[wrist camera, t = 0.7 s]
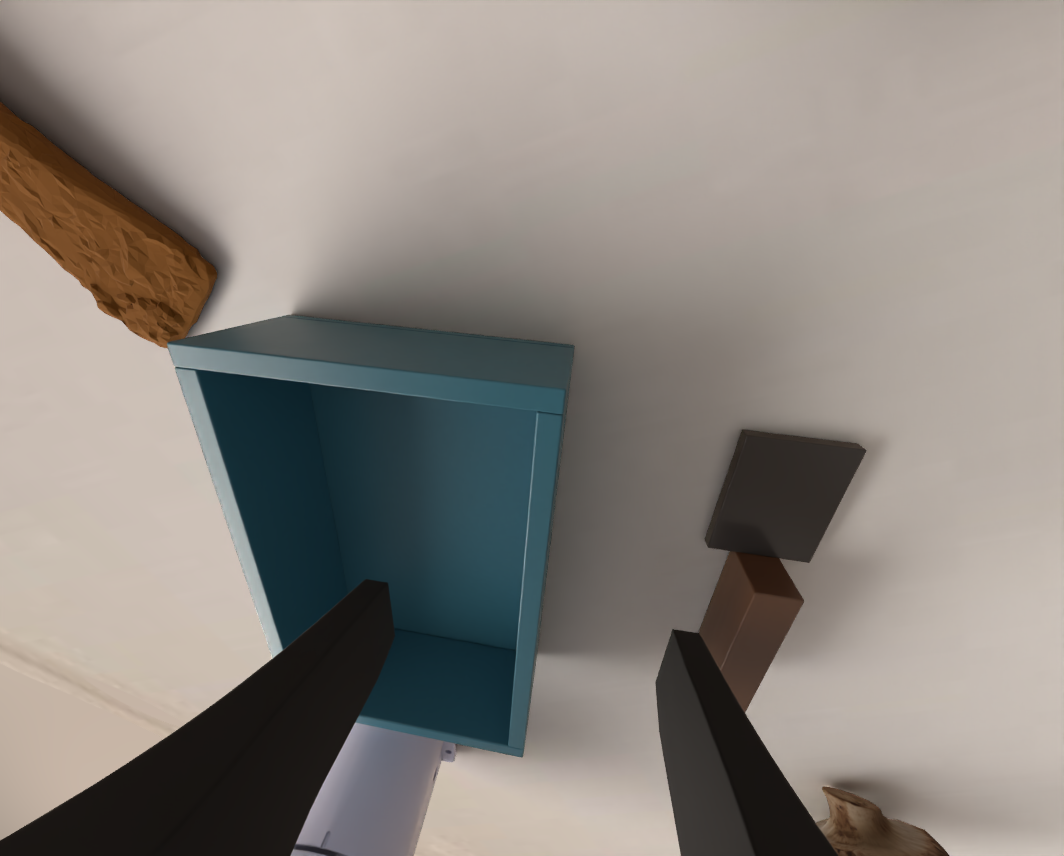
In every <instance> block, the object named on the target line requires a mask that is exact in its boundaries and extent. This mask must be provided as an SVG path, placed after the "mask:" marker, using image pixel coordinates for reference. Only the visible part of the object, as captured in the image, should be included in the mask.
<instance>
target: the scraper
mask: <svg viewBox="0 0 1064 856" xmlns="http://www.w3.org/2000/svg"><path fill="white" fill-rule="evenodd" d="M865 453H866V449H864V448H863V447H862V446H860V445H859V444H856V443H847V442H839V441H831V440H823V439H815V438H806V437H798V436H790V435H782V434H773V433H765V432H757V431H749V430H742V432H741V435H740V438H739V441H738V444H737V447H736V450H735V453H734V456H733V458H732V461H731V464H730V467H729V470H728V473H727V476H726V479H725V482H724V485H723V488H722V491H721V493H720V496H719V499H718V502H717V505H716V508H715V511H714V514H713V517H712V520H711V523H710V526H709V529H708V531H707V534H706V537H705V541H706V544H707V547H708V548H714V549H721V550H728V551H730V552H729V555H728V557H727V560H726V562H725V565H724V568H723V570H722V573H721V575H720V578H719V581H718V583H717V586H716V588H715V591H714V594H713V596H712V599H711V601H710V604H709V606H708V609H707V612H706V614H705V617H704V619H703V622H702V625H701V627H700V630H699V632H698V634H700V636H701V637H702V638H703V640H704V642H705V644H706V646H707V647H708V649H709V651H710V653H711V655H712V657H713V658H714V660H715V662H716V664H717V666H718V667H719V669H720V671H721V673H722V675H723V676H724V678H725V680H726V682H727V683H728V685H729V687H730V689H731V690H732V692H733V694H734V696H735V697H736V699H737V701H738V702H739V704H740V706H741V707H742V709H743V711H744V713H745V712H746V710H747V708H748V706H749V704H750V702H751V700H752V698H753V697H754V695H755V693H756V691H757V689H758V687H759V685H760V683H761V681H762V680H763V678H764V676H765V674H766V672H767V670H768V668H769V666H770V665H771V663H772V661H773V659H774V657H775V655H776V653H777V651H778V650H779V648H780V646H781V644H782V642H783V640H784V638H785V636H786V635H787V633H788V631H789V629H790V627H791V625H792V623H793V621H794V620H795V618H796V616H797V614H798V612H799V610H800V608H801V606H802V605H803V603H804V599H803V598H802V596H801V594H800V593H799V591H798V589H797V588H796V586H795V584H794V583H793V581H792V579H791V578H790V576H789V574H788V573H787V571H786V569H785V568H784V566H783V564H782V562H781V561H780V559H779V558H781V559H787V560H794V561H801V562H807V563H809V562H810V561H811V559H812V557H813V555H814V553H815V551H816V549H817V547H818V545H819V543H820V541H821V539H822V537H823V535H824V533H825V531H826V529H827V527H828V525H829V523H830V521H831V519H832V518H833V516H834V514H835V512H836V510H837V508H838V506H839V504H840V502H841V500H842V498H843V496H844V494H845V492H846V490H847V488H848V486H849V484H850V482H851V480H852V478H853V476H854V474H855V472H856V470H857V469H858V467H859V465H860V463H861V461H862V459H863V457H864V455H865Z"/></svg>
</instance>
